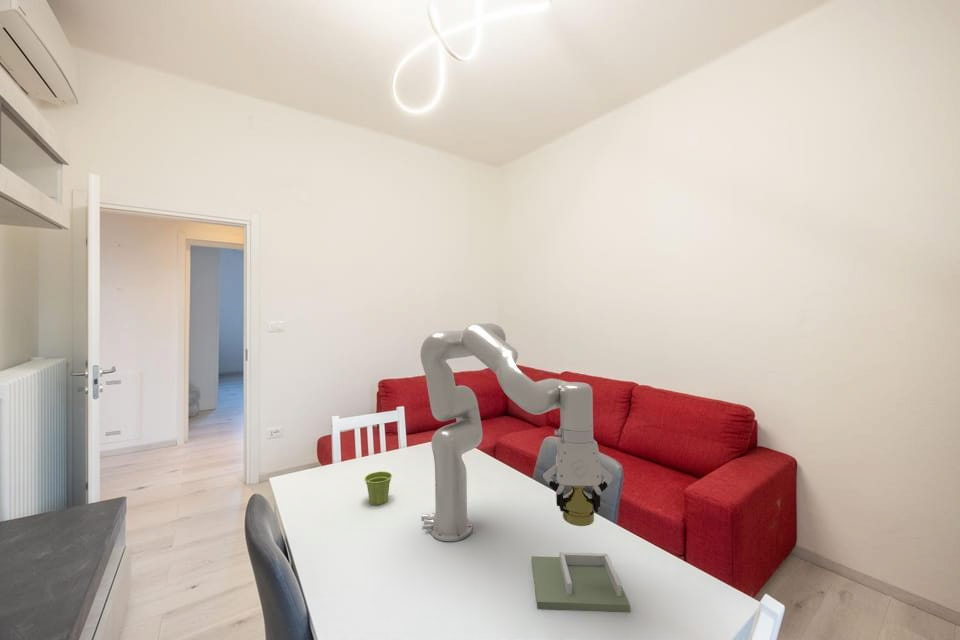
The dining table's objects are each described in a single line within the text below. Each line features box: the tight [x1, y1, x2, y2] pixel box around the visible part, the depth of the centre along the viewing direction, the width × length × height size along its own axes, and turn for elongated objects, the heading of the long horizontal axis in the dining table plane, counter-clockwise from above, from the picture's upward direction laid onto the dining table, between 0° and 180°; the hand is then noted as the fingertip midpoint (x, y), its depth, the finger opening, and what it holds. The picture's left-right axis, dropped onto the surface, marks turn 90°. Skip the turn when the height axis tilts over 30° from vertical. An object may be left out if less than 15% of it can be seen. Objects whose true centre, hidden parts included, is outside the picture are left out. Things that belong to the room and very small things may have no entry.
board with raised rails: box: [531, 551, 631, 613], centre depth 91 cm, size 20×16×4 cm
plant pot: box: [364, 471, 393, 506], centre depth 134 cm, size 9×9×9 cm
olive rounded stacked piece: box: [562, 486, 595, 527], centre depth 91 cm, size 7×7×10 cm
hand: (578, 508), depth 91 cm, fingers closed on olive rounded stacked piece, 7 cm apart
